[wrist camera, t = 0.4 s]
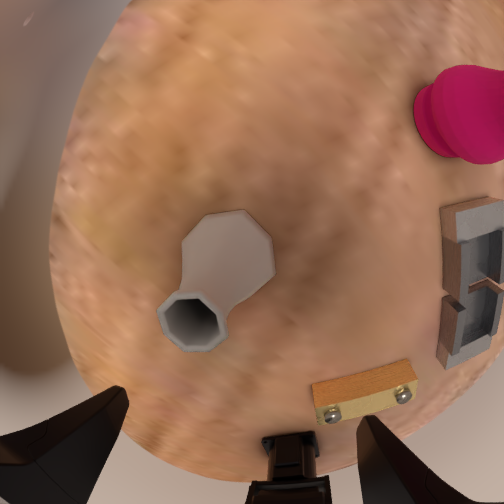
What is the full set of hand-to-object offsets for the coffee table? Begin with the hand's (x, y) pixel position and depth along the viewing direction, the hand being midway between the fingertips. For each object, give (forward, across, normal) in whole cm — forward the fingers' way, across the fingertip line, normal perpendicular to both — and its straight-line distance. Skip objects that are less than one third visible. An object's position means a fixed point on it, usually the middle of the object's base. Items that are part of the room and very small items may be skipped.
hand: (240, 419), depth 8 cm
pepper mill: (+13, -14, -15) cm, 24 cm away
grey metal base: (+14, -20, -1) cm, 24 cm away
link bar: (+14, -11, +10) cm, 21 cm away
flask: (+14, +3, -2) cm, 14 cm away
